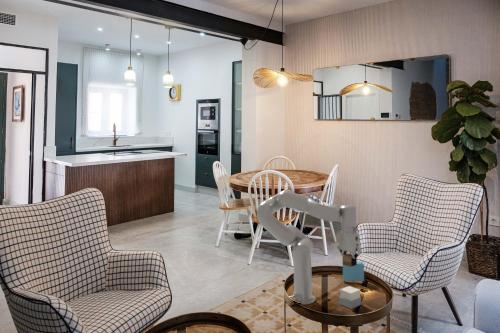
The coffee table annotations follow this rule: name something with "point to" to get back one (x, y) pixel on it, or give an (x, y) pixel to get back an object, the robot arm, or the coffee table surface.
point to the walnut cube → (347, 259)
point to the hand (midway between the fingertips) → (349, 263)
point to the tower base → (350, 302)
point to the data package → (353, 272)
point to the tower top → (350, 293)
